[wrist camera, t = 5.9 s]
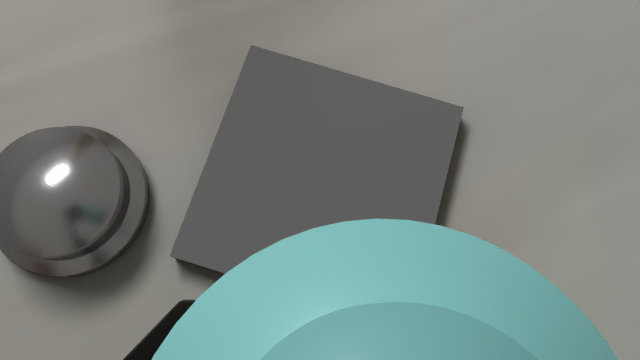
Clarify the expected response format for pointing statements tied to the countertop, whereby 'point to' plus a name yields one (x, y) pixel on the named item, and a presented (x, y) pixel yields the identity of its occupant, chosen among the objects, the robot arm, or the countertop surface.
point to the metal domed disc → (69, 200)
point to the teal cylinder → (383, 302)
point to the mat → (313, 159)
